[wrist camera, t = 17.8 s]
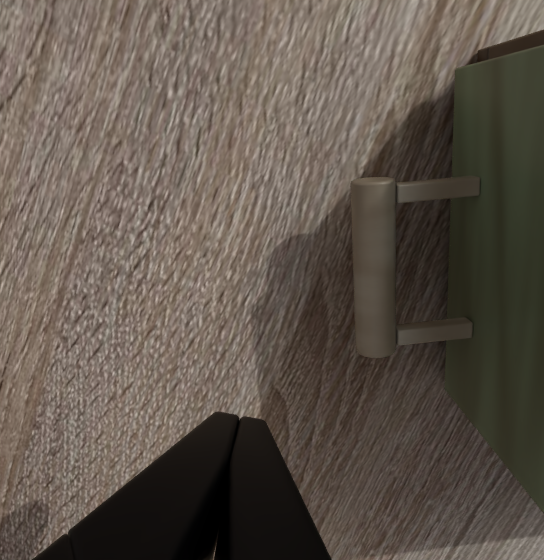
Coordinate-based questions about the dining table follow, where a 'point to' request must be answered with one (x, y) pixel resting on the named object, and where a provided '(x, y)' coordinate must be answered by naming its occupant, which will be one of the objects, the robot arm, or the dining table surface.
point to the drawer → (475, 260)
